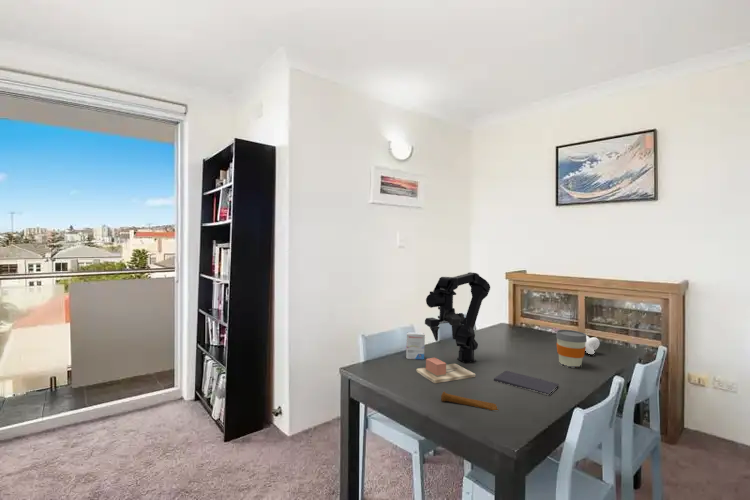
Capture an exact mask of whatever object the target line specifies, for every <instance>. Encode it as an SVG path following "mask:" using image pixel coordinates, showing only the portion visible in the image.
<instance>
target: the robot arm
mask: <svg viewBox="0 0 750 500" xmlns="http://www.w3.org/2000/svg"><path fill="white" fill-rule="evenodd" d="M466 284H468V285H469V287H470V293H471V294H470V295H471V300H470V302H469V305H468V309H467V310H466V311H467V312H466V315H465V314H464V313H463V312H458V313H456V310H455V308H454V296H456V295H457V293H456V291H455V290H457V289H458V287H459V286H462V285H466ZM490 290H491V285H490V283H489V282H488V281H487V279H485V278H483V277H482V276H480V274H479V273H477V272H472V271H471V272H466V273H464V274H460V275H457V276H441V277H439V279H438V281H437V283H436V285H435V286H434V289H433V290H431V291H429V294H428V295H427V296H426V299H425V301H426V302H425V304H426V306H427V307H428V308H431V309H432V308H437V309H438V310H439V315H437V318H435V317H426V318H425V320H424V325H426V326H427V327H429V329H430V330H431V332H432V335H433V338H434V340H435V341H436V342H438V341H439V329H440V326H439V325H440V324H441V325H442V324H449V325H450V326H451V333H452V335H451V336H452V340H455V344H456V347H459V349H458V357H457V358H456V359H457V360H459V361H460V362H463V363H465V364H467V363H474V362H477V360H476V359H475V351H476V350H477V349H478V347H479V344H478V342H477V341H476V339H475V338H476V334H475V330H474V328H475V325H476V322H477V318H478V316H479V312H480V308H481V306H482V302H483V300H484V299H485V298H486V297H487V296H488V295H489V293H490Z"/></svg>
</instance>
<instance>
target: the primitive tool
mask: <svg viewBox="0 0 750 500" xmlns="http://www.w3.org/2000/svg"><path fill="white" fill-rule="evenodd" d="M440 399H441V400H440V401H441V402H450V403H453V404H454V403H455V404H459V405H465V406H469V407H473V406H474V408H477V407H479V409H483V408H485V409H484V410H487V409H489V411H492V410H498V411H499V408H498V409H497V406H496V405H497V403H496V404H495V403H493V402H488V401H483V400H479V399H473V398H467V397H463V396H459V395H455V394H451V393H446V391H442V393H441V395H440Z"/></svg>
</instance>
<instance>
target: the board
mask: <svg viewBox="0 0 750 500" xmlns="http://www.w3.org/2000/svg"><path fill="white" fill-rule="evenodd" d="M416 372H417V373H418V374H420V375H421V376H422V377H424V378H425V379H426V380H428V381H430V382H431V383H433V384H439V383H445V382H451V381H452V382H453V381H457V380H465V379H473V378H476V373H474V372H472V371H470V370H469V369H466V368H464V367H463V366H460V365H459V364H457V363H450V364H446V376H440V377H436V376H434V375H433V374H431V373H429V372H428V371H426V367H420V368H416Z"/></svg>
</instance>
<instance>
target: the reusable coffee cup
mask: <svg viewBox="0 0 750 500" xmlns="http://www.w3.org/2000/svg"><path fill="white" fill-rule="evenodd" d="M586 335H587V334H586V333H584V332H581V331H577V330H572V329H571V330H570V329H558V330H557V331H556V336H555V338H556V343H555V344H556V351H557V354H558V363H559V362H560V363H561V364H564V365H567V366H580V365H581V366H582V363H583V358H584V357H585V355H586V354H585V353H586V352H585V349H586V347H585V343H586V341H587V340H586Z"/></svg>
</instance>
